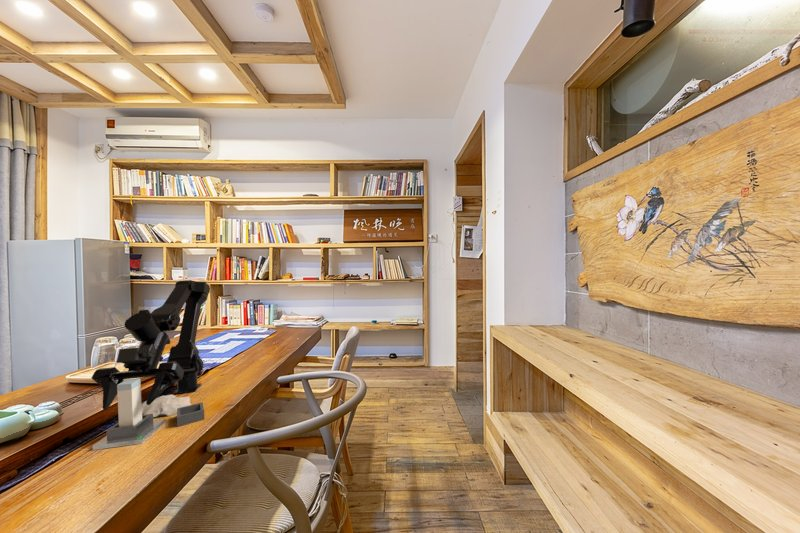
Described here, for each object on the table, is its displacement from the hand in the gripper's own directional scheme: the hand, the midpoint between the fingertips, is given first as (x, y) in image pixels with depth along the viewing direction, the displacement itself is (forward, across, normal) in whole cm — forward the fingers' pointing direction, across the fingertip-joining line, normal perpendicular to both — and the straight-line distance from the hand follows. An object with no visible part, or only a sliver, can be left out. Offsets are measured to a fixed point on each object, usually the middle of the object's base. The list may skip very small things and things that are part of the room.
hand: (126, 406), depth 76 cm
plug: (+4, 0, +6) cm, 7 cm away
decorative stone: (-5, +1, +17) cm, 17 cm away
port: (+4, 0, +6) cm, 8 cm away
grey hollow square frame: (0, +11, +11) cm, 15 cm away
